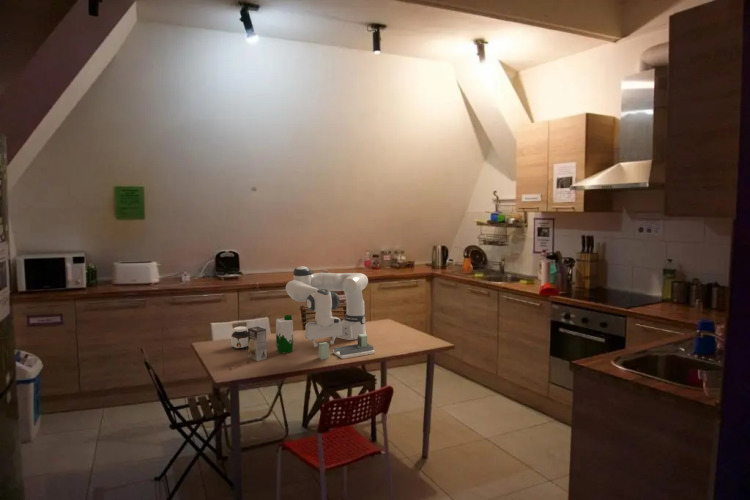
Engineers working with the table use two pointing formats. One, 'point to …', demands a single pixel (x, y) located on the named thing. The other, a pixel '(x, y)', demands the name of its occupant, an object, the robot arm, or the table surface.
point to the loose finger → (324, 350)
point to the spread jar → (239, 338)
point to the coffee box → (257, 343)
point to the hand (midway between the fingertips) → (323, 345)
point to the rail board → (355, 348)
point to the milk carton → (284, 334)
